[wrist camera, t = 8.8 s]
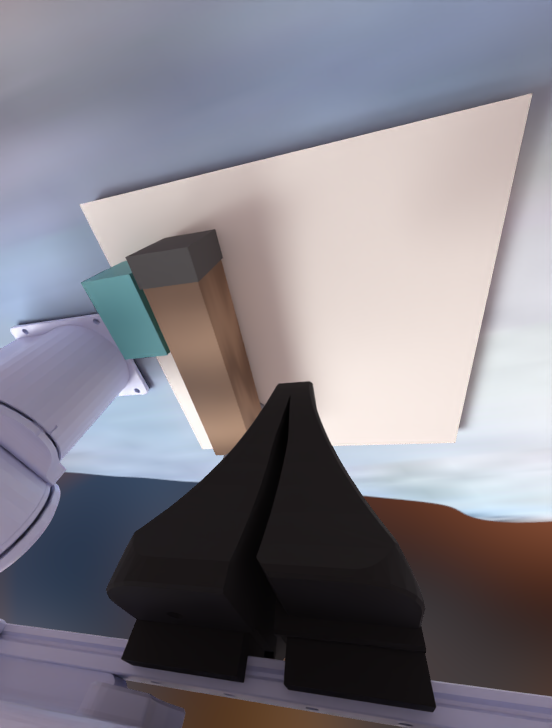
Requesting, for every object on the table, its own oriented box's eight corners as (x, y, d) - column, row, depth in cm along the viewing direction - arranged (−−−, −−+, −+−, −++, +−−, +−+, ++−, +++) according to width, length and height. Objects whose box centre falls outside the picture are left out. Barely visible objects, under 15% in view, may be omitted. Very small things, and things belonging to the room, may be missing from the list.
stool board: (206, 439, 30) (187, 485, 26) (92, 202, 18) (22, 214, 14) (450, 431, 25) (476, 486, 21) (516, 98, 13) (609, 68, 9)
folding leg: (268, 430, 25) (259, 477, 22) (234, 431, 26) (219, 477, 22) (215, 229, 16) (183, 249, 13) (164, 237, 17) (119, 260, 13)
